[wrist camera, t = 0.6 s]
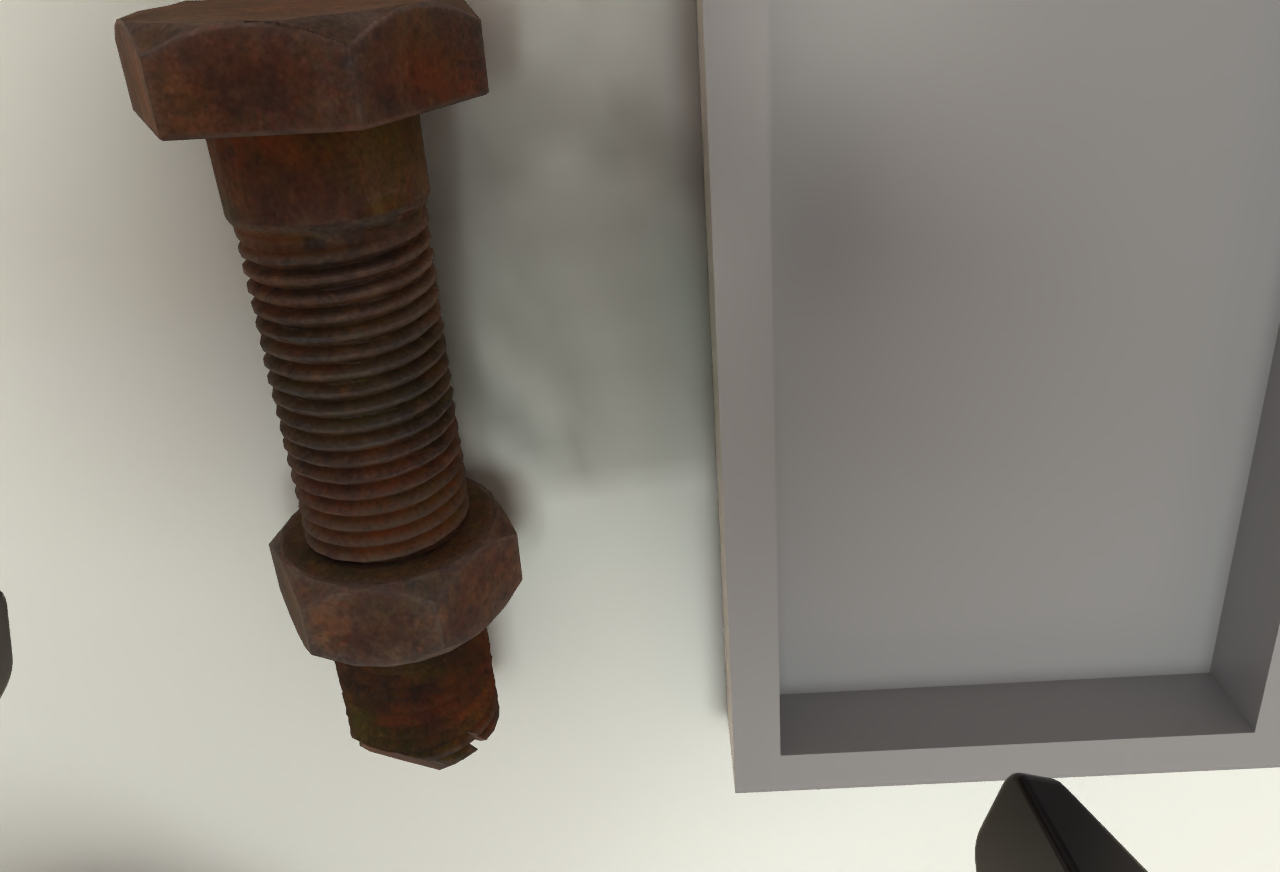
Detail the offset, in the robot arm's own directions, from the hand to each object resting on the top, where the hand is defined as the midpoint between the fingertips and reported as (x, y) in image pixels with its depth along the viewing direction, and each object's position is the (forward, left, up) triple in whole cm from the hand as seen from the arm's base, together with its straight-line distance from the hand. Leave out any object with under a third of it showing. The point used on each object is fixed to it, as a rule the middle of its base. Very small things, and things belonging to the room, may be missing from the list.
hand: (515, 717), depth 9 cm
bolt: (-4, -2, -13) cm, 14 cm away
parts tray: (+8, 0, -13) cm, 15 cm away
